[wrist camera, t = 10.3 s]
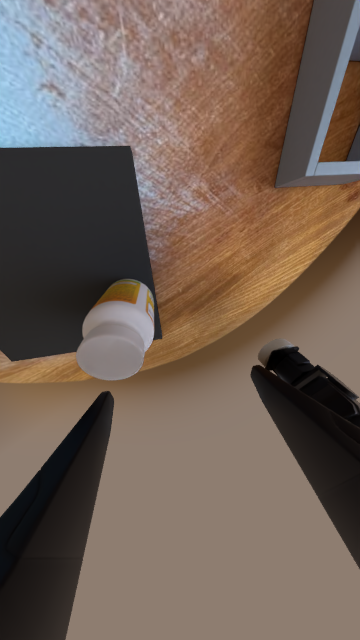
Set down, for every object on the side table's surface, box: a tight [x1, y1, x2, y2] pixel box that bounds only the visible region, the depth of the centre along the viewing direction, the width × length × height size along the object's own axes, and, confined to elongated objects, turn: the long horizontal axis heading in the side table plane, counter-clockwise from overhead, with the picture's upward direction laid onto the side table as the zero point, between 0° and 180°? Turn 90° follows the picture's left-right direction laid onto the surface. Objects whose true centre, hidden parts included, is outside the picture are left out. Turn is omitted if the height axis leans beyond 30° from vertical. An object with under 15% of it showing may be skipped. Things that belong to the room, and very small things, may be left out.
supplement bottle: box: [76, 279, 154, 380], centre depth 13 cm, size 5×5×10 cm
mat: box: [0, 146, 162, 361], centre depth 15 cm, size 19×20×1 cm
